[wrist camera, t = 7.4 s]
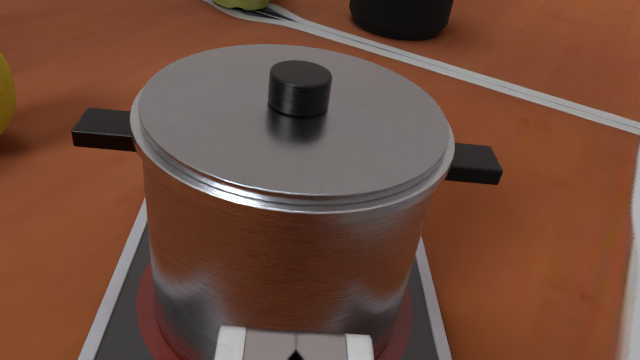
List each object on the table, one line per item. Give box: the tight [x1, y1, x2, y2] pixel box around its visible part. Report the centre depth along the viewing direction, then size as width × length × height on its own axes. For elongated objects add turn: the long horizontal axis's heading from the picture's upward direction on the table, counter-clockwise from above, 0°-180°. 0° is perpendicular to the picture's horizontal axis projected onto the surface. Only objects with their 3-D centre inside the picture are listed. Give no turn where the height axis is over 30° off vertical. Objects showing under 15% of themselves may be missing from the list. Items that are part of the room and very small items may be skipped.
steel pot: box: [71, 44, 503, 360], centre depth 22 cm, size 12×16×11 cm
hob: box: [78, 198, 452, 360], centre depth 31 cm, size 28×15×1 cm, turn 1°
